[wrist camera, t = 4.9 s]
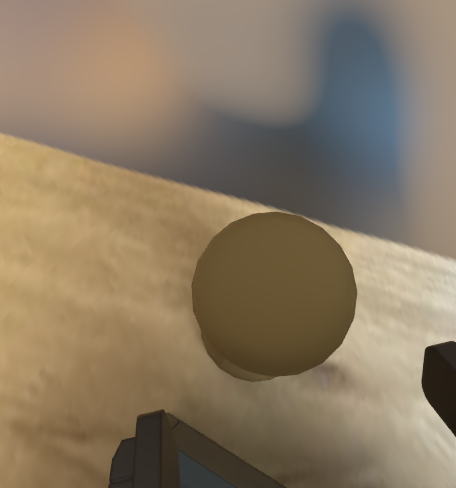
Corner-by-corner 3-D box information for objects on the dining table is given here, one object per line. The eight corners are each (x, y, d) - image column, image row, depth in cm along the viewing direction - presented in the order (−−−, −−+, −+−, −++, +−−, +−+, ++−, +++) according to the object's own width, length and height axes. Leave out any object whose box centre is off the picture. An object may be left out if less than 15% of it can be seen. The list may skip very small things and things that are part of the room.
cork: (268, 252, 22) (303, 149, 12) (330, 341, 21) (434, 313, 10) (180, 307, 21) (132, 247, 11) (238, 404, 20) (248, 446, 9)
